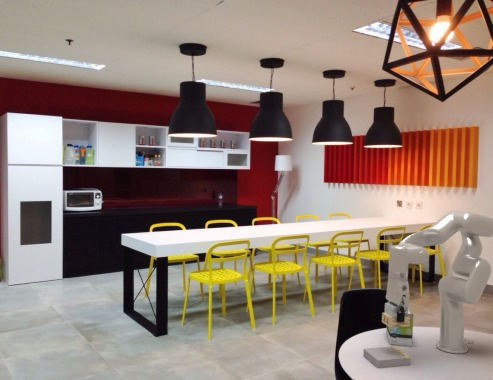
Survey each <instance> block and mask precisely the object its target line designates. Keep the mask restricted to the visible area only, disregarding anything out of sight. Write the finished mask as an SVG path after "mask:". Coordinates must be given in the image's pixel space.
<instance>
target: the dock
mask: <svg viewBox="0 0 493 380" xmlns="http://www.w3.org/2000/svg"><path fill="white" fill-rule="evenodd" d="M362 352H363V353H362V354H363V357H364V358H365V359H367V360H368V361H369V363H371V364H372V365H374V366H375V367H376V368H377V369H383V368H393V367H394V368H395V367H403V366H411V357H410V356H409V355H408V354H406V353H404V352H403V351H401V350H400V349H399V348H397V347H396V346H395V345H392V346H381V347H380V346H379V347H369V348H363V351H362Z"/></svg>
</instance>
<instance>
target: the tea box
mask: <svg viewBox="0 0 493 380" xmlns="http://www.w3.org/2000/svg"><path fill="white" fill-rule="evenodd" d="M408 316H410V326H405V327H389V326H387V325H386V324H385V326H386V328H385V331H386V336H387V340H388V343H389V345H392V346H395V345H396V346H402V347H403V346H404V347H412V346H413V333H414V332H413V331H414V330H413V329H414V313H413V311H412V309H411V308H410V306H409V307H408Z"/></svg>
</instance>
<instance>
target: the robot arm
mask: <svg viewBox="0 0 493 380" xmlns="http://www.w3.org/2000/svg"><path fill="white" fill-rule="evenodd" d="M457 233H460V235H461V240H462V241H461V245H460V248H459V249H458V251H457V253H456V255H455V257H454V259H453V262H452V265H451V269H452V270H451V271H452V272H453V273H454V274H455V275H457V276H453V275H445V276H443V277H441V278H440V279H439V282H438V285H437V286H438V294H439V299H440V300H439V301H440V313H439V315H440V318H439V340H438V341H437V342H436V343H435V346H436V348H437V349H438V350H440V351H443V352H446V353H450V354H457V355H458V354H459V355H460V354H465V353H467V352H468V351H469V348H468V346H467V345H472V344H474V340H473V339H472V338H470V339H469V338H466V337H465V306H464V304H469V305H473V304H475V303H477V302H478V301H479V300H480V298H481V296H482V295H483V292H484V290H485V288H486V286H487V285H488V282H489V280H490V278H491V273H492V267H491V264H490V263H489V261H488V260H486V259H484V258H482V257H481V254H482V252H483V243H482V241H481V239H480V237H484V238H492V237H493V217H489V216H485V215H480V214H477V213H474V212H468V211H459V210H452V211H449V212H447V213H446V214H445V215H443V216H442V217H440V218H439V219H438V220H437V221H436V222H434V223H433V224H432V225H431V226H430V227H427V228H425V229H422V230H419V231H417V232H416V231H415V232H414V233H411V234H410V235H408V236H406V237H405V238H403V239H402V240H401V241H400V242H399V243H398V244H394V245H391V246H390V247H389V255H388V256H389V259H388V275H387V287H386V295H385V299H386V303H394V304H396V305H397V307H398V312H397V322H404V320H405V313H406V310H407V308H408V307H409V308H410V287H409V281H408V280H409V279H408V278H409V276H408V275H409V264H413V265H422V264H423V265H424V264H425V263H426V262H427V261H428V260H429V257H430V255H429V251H428V250H427V249H426V248H424V247H431V246H439V245H442V244H445V242H447V241H448V240H449V239H450V238H452V237H453V236H455V234H457ZM480 257H481V258H480ZM458 276H460V277H458ZM461 277H464V278H461ZM465 278H467V279H465ZM400 303H402V304H400ZM400 306H402V308H401V309H400Z"/></svg>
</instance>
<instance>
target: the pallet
mask: <svg viewBox="0 0 493 380" xmlns="http://www.w3.org/2000/svg"><path fill="white" fill-rule="evenodd" d="M400 304H402V303H400ZM401 308H402V306H400V309H401ZM397 312H398V307H397V305H396V304H394V303H387V302H385V303H384V312H382V313H381V323H382V324H384V325H385V326H386V325H387V326H389V327H405V326H410V316H408V308H407V310H406V313H405V320H404V322H397Z"/></svg>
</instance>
